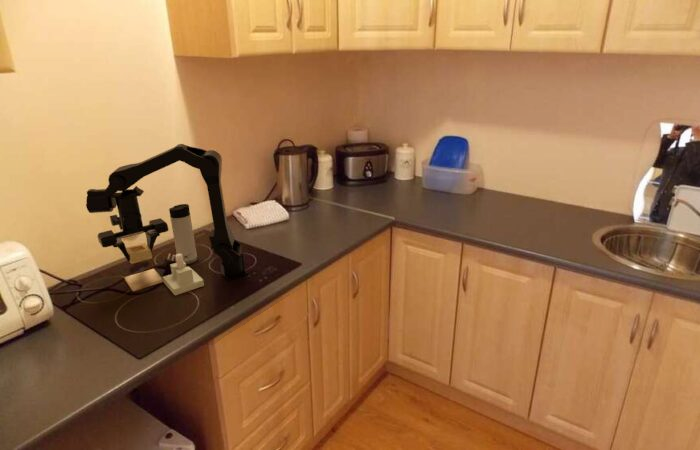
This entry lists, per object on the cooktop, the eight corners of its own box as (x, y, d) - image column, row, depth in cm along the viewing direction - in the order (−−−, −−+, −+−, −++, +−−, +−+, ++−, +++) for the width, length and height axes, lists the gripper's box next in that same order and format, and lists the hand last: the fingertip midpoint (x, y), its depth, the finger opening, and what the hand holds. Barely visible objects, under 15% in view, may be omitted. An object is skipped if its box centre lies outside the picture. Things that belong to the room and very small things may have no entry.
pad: (154, 271, 151) (153, 268, 151) (163, 281, 144) (162, 279, 144) (124, 280, 146) (124, 277, 146) (132, 291, 139) (132, 288, 139)
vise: (192, 273, 149) (187, 245, 145) (204, 285, 142) (199, 256, 138) (163, 282, 144) (158, 253, 140) (174, 295, 137) (169, 265, 133)
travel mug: (190, 265, 154) (181, 209, 146) (174, 263, 156) (164, 207, 148) (202, 257, 160) (193, 203, 152) (185, 255, 162) (176, 201, 154)
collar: (146, 251, 146) (144, 242, 145) (152, 258, 142) (150, 249, 140) (126, 257, 142) (124, 248, 141) (131, 264, 138) (129, 255, 137)
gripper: (153, 196, 147) (161, 241, 153) (88, 210, 137) (100, 257, 143) (164, 205, 139) (173, 252, 145) (96, 221, 128) (108, 270, 135)
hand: (139, 257), depth 142 cm, fingers closed on collar, 6 cm apart
